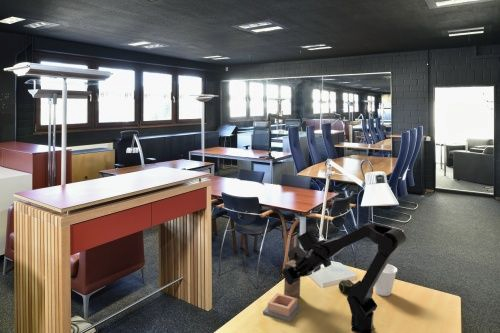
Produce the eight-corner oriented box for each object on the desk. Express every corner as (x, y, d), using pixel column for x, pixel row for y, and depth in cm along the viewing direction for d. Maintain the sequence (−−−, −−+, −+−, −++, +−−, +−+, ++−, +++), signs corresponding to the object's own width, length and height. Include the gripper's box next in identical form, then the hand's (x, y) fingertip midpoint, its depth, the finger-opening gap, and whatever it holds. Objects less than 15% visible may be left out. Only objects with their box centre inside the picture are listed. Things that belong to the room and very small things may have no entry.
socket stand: (301, 307, 144) (301, 297, 143) (290, 321, 134) (290, 311, 133) (275, 300, 149) (275, 290, 148) (262, 313, 139) (263, 303, 138)
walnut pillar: (299, 295, 152) (300, 263, 150) (292, 299, 149) (293, 266, 147) (291, 291, 155) (292, 260, 153) (284, 295, 152) (285, 263, 150)
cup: (380, 300, 149) (382, 274, 148) (365, 289, 159) (366, 264, 157) (400, 296, 152) (402, 271, 151) (384, 285, 162) (386, 261, 160)
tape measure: (358, 294, 155) (359, 285, 154) (344, 296, 153) (344, 287, 152) (349, 286, 161) (349, 278, 160) (335, 288, 159) (335, 280, 158)
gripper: (315, 237, 152) (293, 255, 162) (286, 249, 139) (264, 267, 149) (331, 261, 148) (307, 278, 157) (302, 276, 135) (278, 293, 144)
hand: (289, 278), depth 152 cm, fingers closed on walnut pillar, 4 cm apart
